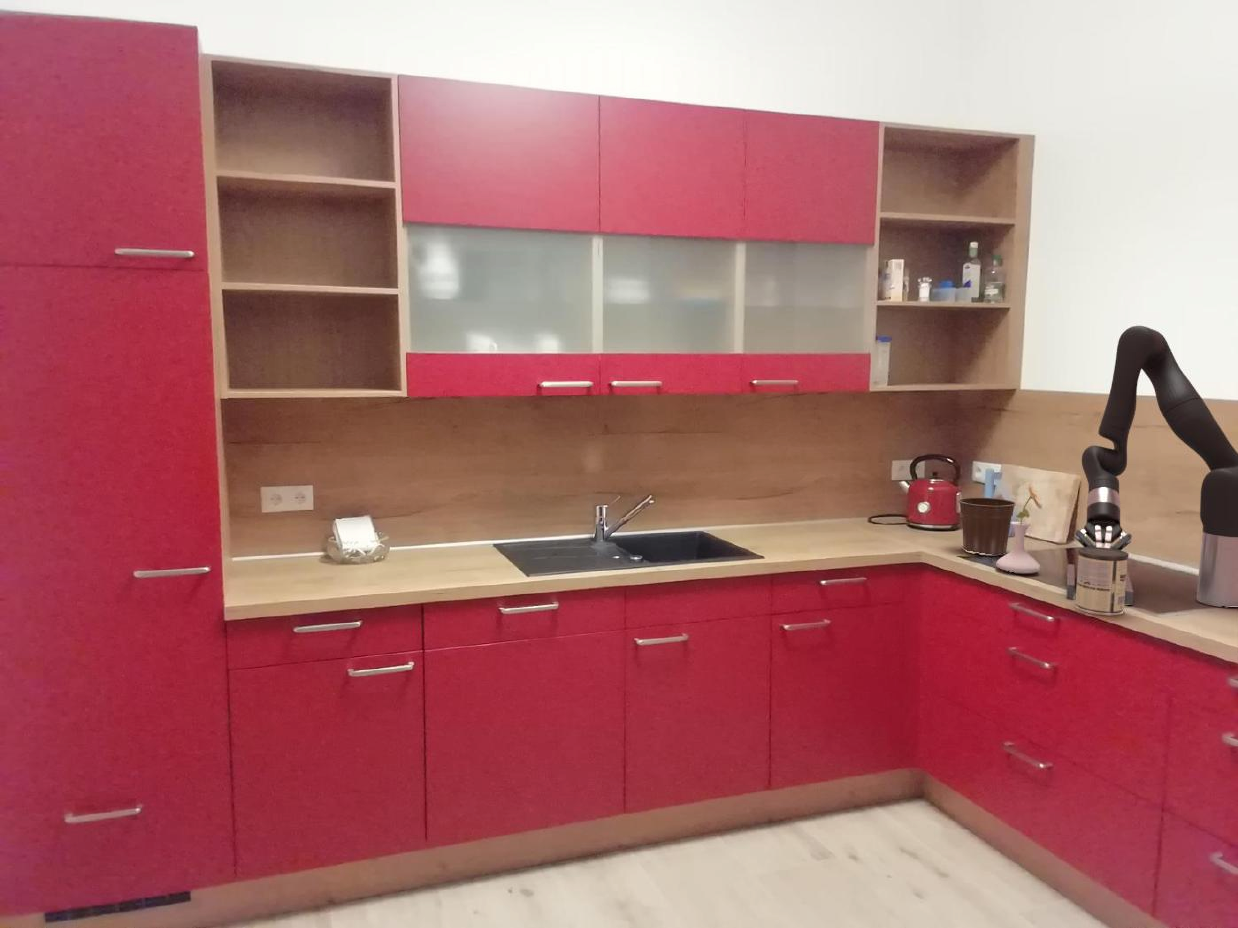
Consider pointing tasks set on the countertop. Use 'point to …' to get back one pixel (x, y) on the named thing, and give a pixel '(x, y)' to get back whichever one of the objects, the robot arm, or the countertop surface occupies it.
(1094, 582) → the coffee can
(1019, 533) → the flower in vase
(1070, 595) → the grey frame
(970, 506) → the plant pot
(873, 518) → the countertop surface
